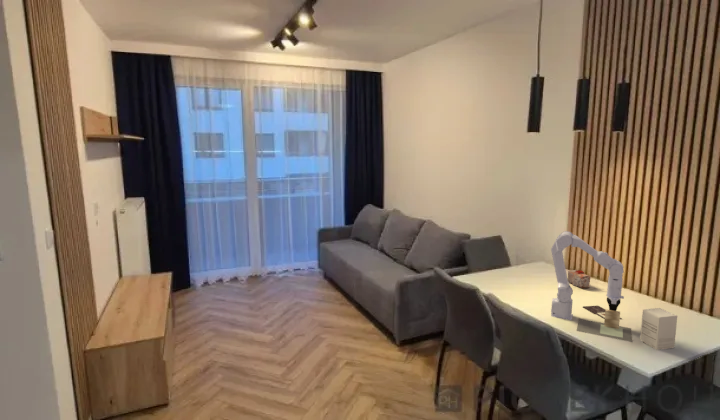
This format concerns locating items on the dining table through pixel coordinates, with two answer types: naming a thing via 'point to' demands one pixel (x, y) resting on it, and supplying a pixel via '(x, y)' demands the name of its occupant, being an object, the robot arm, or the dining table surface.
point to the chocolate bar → (596, 310)
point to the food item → (578, 278)
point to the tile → (612, 318)
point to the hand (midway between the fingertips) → (612, 313)
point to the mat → (604, 330)
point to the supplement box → (658, 328)
